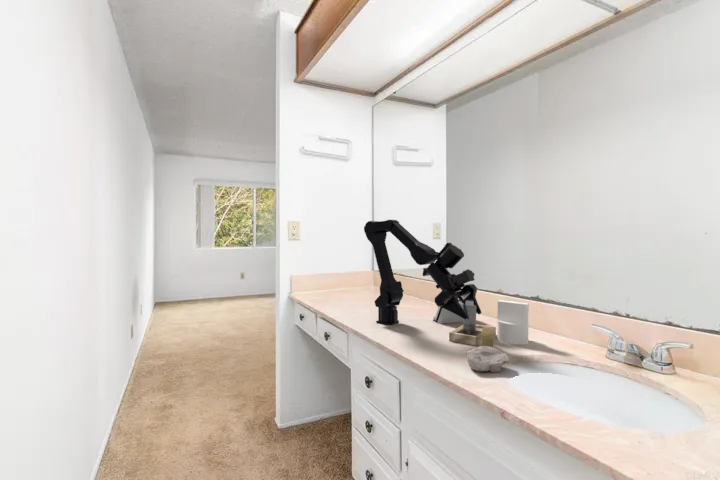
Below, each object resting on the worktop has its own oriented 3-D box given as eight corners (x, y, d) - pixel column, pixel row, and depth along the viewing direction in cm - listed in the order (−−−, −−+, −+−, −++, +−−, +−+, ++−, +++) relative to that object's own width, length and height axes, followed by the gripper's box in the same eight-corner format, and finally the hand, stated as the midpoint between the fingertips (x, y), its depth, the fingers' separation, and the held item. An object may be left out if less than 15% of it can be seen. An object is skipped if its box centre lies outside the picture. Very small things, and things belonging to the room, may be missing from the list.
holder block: (449, 340, 113) (449, 332, 113) (466, 329, 127) (466, 322, 127) (481, 346, 108) (481, 338, 108) (495, 334, 121) (495, 326, 121)
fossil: (517, 359, 88) (487, 348, 85) (507, 384, 88) (476, 374, 84) (492, 346, 96) (464, 335, 93) (483, 369, 96) (454, 359, 92)
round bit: (462, 341, 113) (462, 301, 113) (462, 337, 117) (463, 299, 117) (476, 342, 112) (476, 301, 112) (476, 338, 116) (476, 299, 116)
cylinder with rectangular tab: (532, 339, 115) (532, 302, 115) (522, 346, 108) (522, 306, 108) (503, 334, 121) (503, 298, 121) (492, 340, 114) (493, 302, 114)
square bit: (481, 353, 101) (481, 328, 101) (482, 350, 104) (482, 326, 104) (493, 354, 100) (493, 329, 100) (493, 351, 103) (493, 326, 103)
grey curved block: (467, 317, 146) (473, 295, 143) (475, 324, 142) (480, 301, 138) (431, 320, 140) (436, 297, 137) (438, 327, 136) (443, 304, 133)
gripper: (443, 263, 110) (477, 304, 103) (472, 260, 124) (504, 296, 116) (421, 286, 116) (452, 327, 108) (451, 281, 129) (480, 316, 122)
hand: (473, 315), depth 113 cm, fingers open, 9 cm apart
